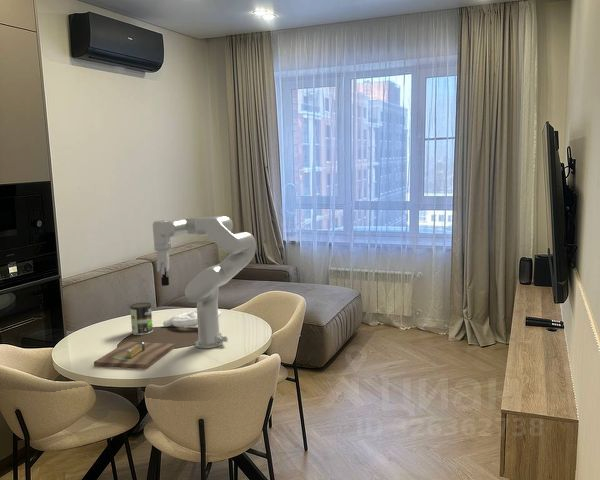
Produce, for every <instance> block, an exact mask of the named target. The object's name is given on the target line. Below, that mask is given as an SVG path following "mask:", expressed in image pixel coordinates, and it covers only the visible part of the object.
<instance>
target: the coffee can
mask: <svg viewBox="0 0 600 480" xmlns="http://www.w3.org/2000/svg"><path fill="white" fill-rule="evenodd" d="M129 309H130V310H129V311H130V319H131V321H130V323H131V334H133V335H135V336H143V335H149V334H151V333H153V332H154V327H153V318H152V317H153V315H152V313H153V312H152V303H150V302H137V303H132V304H130V305H129Z"/></svg>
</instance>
